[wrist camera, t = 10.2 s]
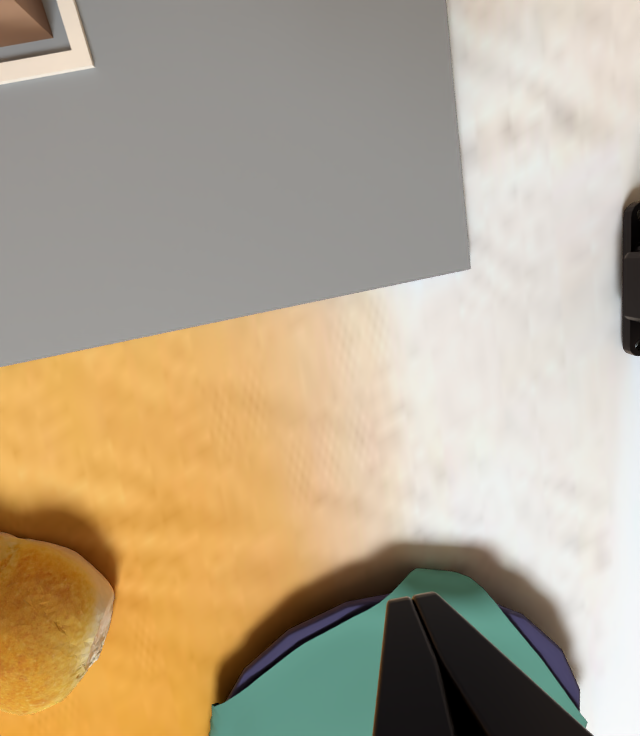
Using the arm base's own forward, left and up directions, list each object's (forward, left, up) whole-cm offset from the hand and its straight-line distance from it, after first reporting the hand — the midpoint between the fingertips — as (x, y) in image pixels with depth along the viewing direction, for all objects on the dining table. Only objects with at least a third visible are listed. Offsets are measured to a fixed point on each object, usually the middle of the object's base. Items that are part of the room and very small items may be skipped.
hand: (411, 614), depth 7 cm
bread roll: (+16, +7, -12) cm, 21 cm away
